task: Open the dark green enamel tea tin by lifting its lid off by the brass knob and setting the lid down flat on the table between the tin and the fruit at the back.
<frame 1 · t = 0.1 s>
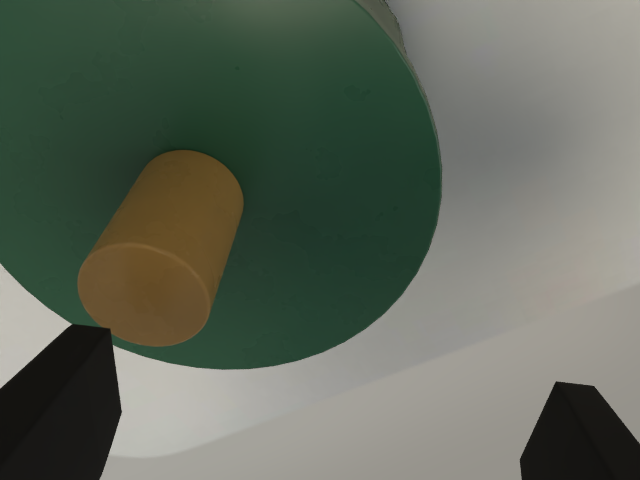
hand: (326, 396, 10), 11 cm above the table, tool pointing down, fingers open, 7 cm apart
tin lid: (196, 185, 14), point 5 cm above the table, touching tea tin
tea tin: (238, 98, 19), on the table
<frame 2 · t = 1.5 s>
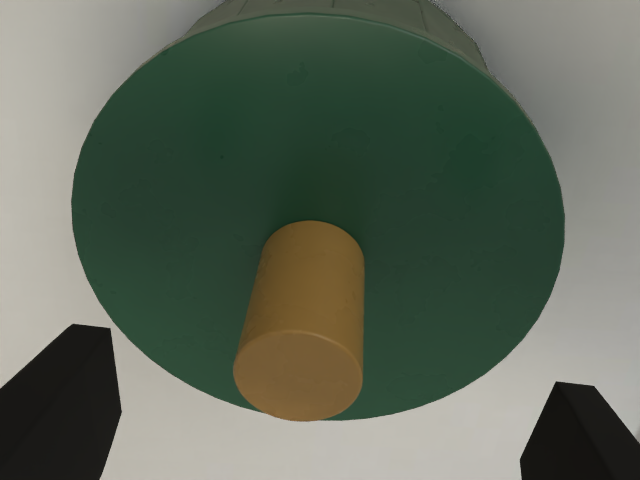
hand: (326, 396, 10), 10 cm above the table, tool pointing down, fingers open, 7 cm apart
tin lid: (314, 250, 15), point 5 cm above the table, touching tea tin
tea tin: (327, 148, 19), on the table
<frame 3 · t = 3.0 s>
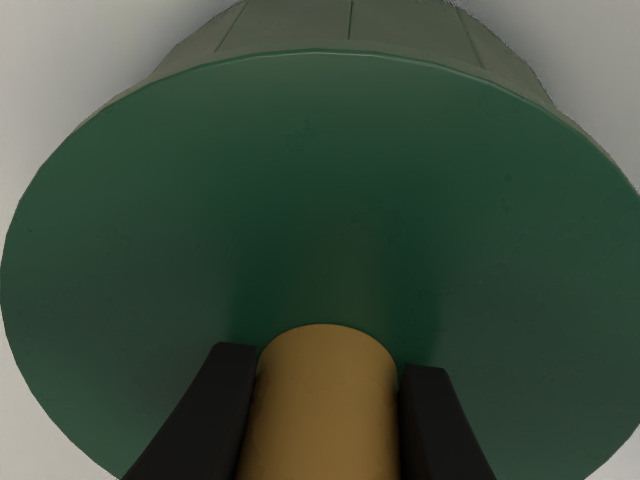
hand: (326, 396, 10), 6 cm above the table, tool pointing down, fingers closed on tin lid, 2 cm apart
tin lid: (328, 352, 11), point 5 cm above the table, touching gripper, tea tin
tea tin: (341, 198, 15), on the table
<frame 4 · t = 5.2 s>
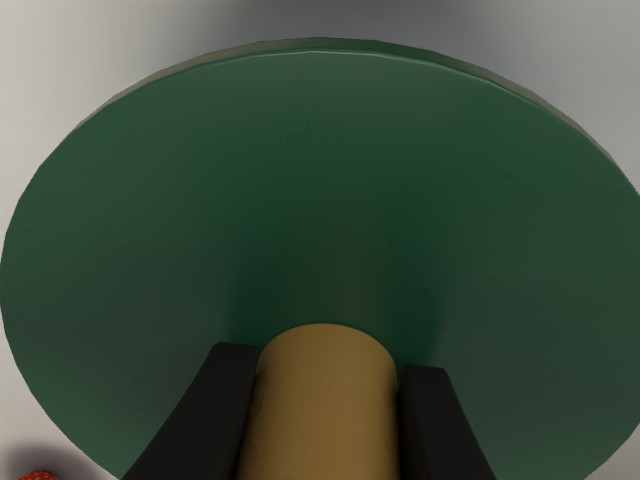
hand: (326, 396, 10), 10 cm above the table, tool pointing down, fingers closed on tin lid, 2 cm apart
fruit: (55, 473, 30), on the table
tin lid: (328, 352, 11), point 9 cm above the table, touching gripper
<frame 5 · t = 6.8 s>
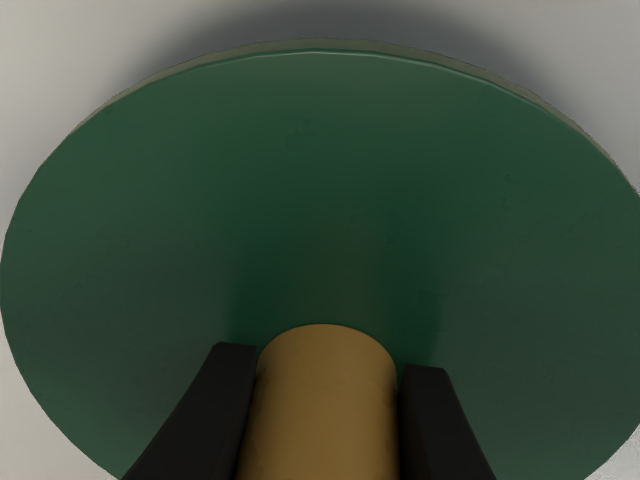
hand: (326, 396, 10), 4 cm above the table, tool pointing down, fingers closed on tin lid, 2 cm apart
tin lid: (328, 352, 11), point 3 cm above the table, touching gripper
when the fingers open (2 cm above the table, at t = 7.6 s): tin lid stays where it is, point 1 cm above the table.
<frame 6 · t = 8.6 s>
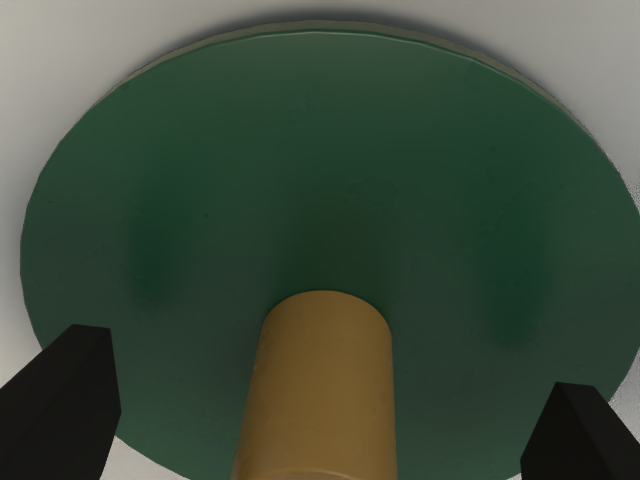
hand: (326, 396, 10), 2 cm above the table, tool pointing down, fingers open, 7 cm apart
tin lid: (327, 320, 12), point 1 cm above the table
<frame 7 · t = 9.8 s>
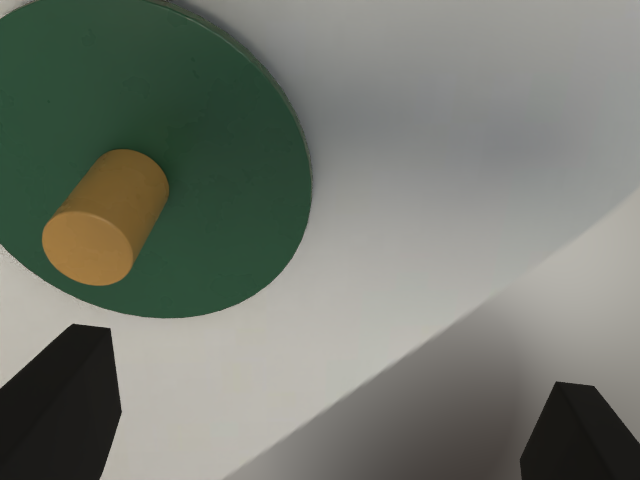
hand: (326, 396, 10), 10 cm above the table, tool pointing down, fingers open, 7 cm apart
tin lid: (136, 175, 19), point 1 cm above the table
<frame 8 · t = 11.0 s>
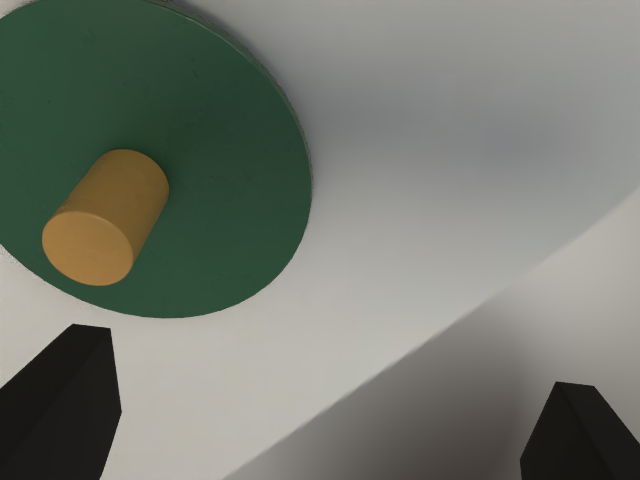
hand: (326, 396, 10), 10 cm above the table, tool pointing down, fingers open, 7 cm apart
tin lid: (136, 175, 19), point 1 cm above the table
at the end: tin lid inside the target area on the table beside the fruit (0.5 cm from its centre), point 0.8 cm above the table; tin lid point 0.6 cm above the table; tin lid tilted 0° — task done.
